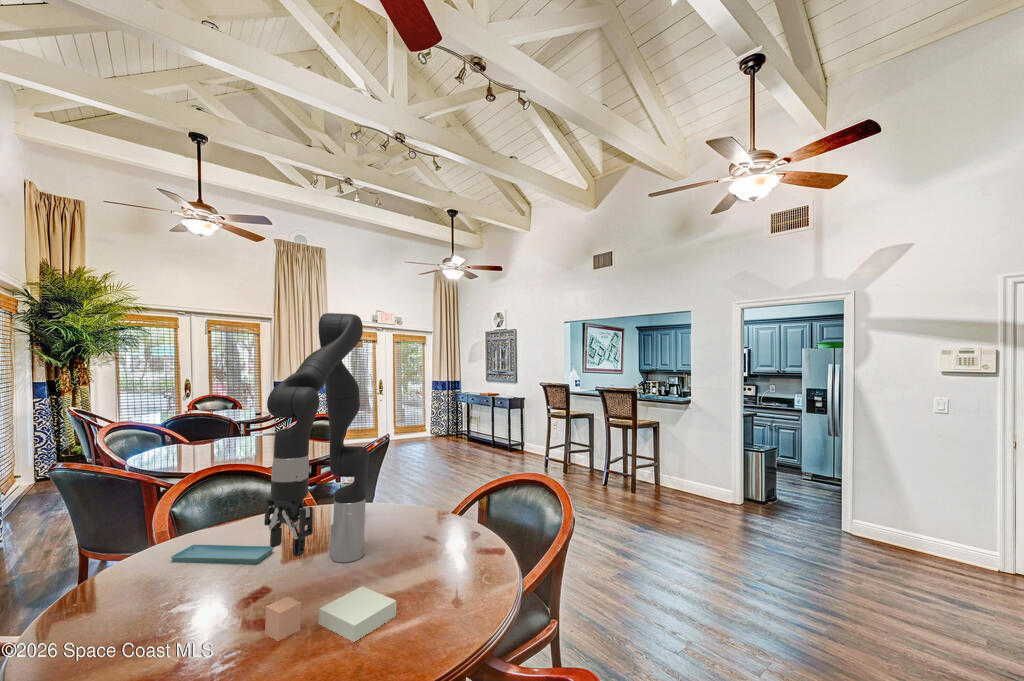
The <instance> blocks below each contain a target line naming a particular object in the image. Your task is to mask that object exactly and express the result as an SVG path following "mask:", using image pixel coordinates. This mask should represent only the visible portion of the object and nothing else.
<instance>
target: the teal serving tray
mask: <svg viewBox="0 0 1024 681" xmlns="http://www.w3.org/2000/svg"><path fill="white" fill-rule="evenodd" d="M274 548H275V547H270V545H268V546H267V545H231V544H230V545H228V544H225V545H224V544H192V545H189V546H187V547H186V548H184V549H182V550H180V551H179V552H177V553H175V554H173V555H171V556H170V558H171V561H173V562H174V563H192V564H193V563H194V564H195V563H198V564H230V565H231V564H232V565H257V564H258V563H260V562H261V561H263V560H265V558H267V557H268V556H270V555H271V553H272V552H273V550H274Z"/></svg>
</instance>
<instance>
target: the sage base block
mask: <svg viewBox="0 0 1024 681" xmlns="http://www.w3.org/2000/svg"><path fill="white" fill-rule="evenodd" d="M395 616H396V617H397V600H396V599H394V598H391V597H390V596H387V595H385V594H382V593H379V592H376V591H374V590H372V589H369V588H367V587H365V586H360V587H358V588H356V589H354V590H352V591H350V592H348V593H347V594H344V595H343V596H341V597H339V598H337V599H335V600H333V601H331V602H329V603H327V604H326V605H323V606H321V607H320V608H319V609H318V625H319V624H320V625H322V626H324V627H326V628H327V629H329V630H332V631H333V632H335V633H338V634H339V635H341V636H343V637H344V638H343V637H342V638H343V639H345V638H347V639H349V640H351V641H353V642H355V641H357V640H358V641H360V640H361V639H362V637H363V636H364V637H366V636H367V635H366V634H368V633H369V634H370V632H371V633H372V632H373V630H374V631H375V630H377V629H378V628H380V627H382V626H384V623H385V624H386V623H388V622H389V621H391V620H393V619H394V618H396V617H395ZM392 618H393V619H392ZM390 619H391V620H390ZM320 625H319V626H320ZM381 625H382V626H381ZM322 626H321V627H322ZM376 628H377V629H376ZM327 629H326V630H327ZM329 630H328V631H329ZM333 632H332V633H333ZM335 633H334V634H335ZM369 634H368V635H369ZM339 635H338V636H339ZM365 635H366V636H365ZM341 636H340V637H341ZM364 637H363V638H364ZM360 638H361V639H360ZM347 639H346V640H347ZM359 639H360V640H359ZM349 640H348V641H349ZM351 641H350V642H351ZM358 641H357V642H358ZM353 642H352V643H353ZM355 643H356V642H355Z"/></svg>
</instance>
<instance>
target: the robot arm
mask: <svg viewBox="0 0 1024 681" xmlns="http://www.w3.org/2000/svg"><path fill="white" fill-rule="evenodd" d="M317 328H318V338H319V345H320V348H318V349H317V350H315V351H313V352H312V353H311V354H309V355H308V356H307V357H306V358H305V359H304V360H303V362H302V363H301V364H300V365H299V367H298V368H297V369H296V371H295V372H293V373H292V374H291V375H289V376H288V377H286V378H285V379H284V380H282V381H280V383H278V384H277V385H276V386H275V387H274V388H273V389H272V390H271V392H270V393H269V395H268V397H267V401H266V407H267V411H268V413H269V414H270V415H271V416H272V417H274V418H281V419H296V421H295V424H294V425H293V427H288V428H282V429H280V430H277V432H275V435H274V442H273V443H274V446H273V460H272V465H271V476H270V477H271V479H270V494H269V495H270V496H269V497H270V498H267V499H266V500H265V509H264V510H265V511H264V522H263V523H264V526H268V530H269V531H270V535H269V536H270V538H269V546H270V547H274V548H276V547H279V546H280V545H282V532H283V528H282V527H283V525H284V524H285V525H286V526H287V528H288V530H289V531H291V533H292V536H293V541H292V543H293V544H292V556H293V557H298V556H302V555H303V554H304V553H305V546H306V544H305V542H306V538H307V537H308V536H312V535H313V532H314V531H313V530H314V529H313V528H314V508H313V506H306V507H305V506H304V499H306V497H308V495H309V480H310V478H309V477H310V460H309V459H310V458H309V457H310V456H309V454H310V453H309V451H310V436H311V432H312V428H313V425H314V422H315V420H316V416H317V413H318V410H319V408H320V402H321V401H320V396H319V393H318V392H319V391H320V390H322V388H323V387H324V385H325V399H326V407H327V408H326V409H327V418H328V426H329V427H328V429H329V469H330V473H331V475H332V476H334V477H337V478H347V477H354V482H353V483H352V484H350V485H347V486H344V487H341V488H340V487H339V488H338V489H336V490H335V491H334V495H333V518H332V520H333V521H332V522H333V523H331V525H330V542H329V544H330V545H329V556H330V557H331V560H332V561H334V562H336V563H350V562H354V561H358V560H359V559H361V558H362V557H363V556H364V552H365V532H366V531H365V527H366V526H365V525H366V498H367V485H368V474H369V473H368V471H369V462H370V461H369V460H370V459H369V458H370V456H369V455H370V454H369V450H368V448H367V447H366V446H361V445H360V446H359V445H358V446H355V445H354V446H350V445H348V446H347V445H345V444H344V443H345V442H344V440H345V439H344V438H345V435H346V432H347V431H348V429H349V428H350V426H351V424H352V423H353V421H354V419H356V417H357V415H358V414H359V411H360V408H361V402H360V401H361V400H360V386H359V384H358V382H357V380H356V379H355V377H354V376H353V375H352V373H351V372H350V370H348V368H347V366H346V365H345V364H344V362H343V361H342V360H343V359H345V358H346V357H347V356H348V354H350V352H351V351H353V350H354V348H356V346H357V345H358V344H359V343H360V341H361V339H362V337H363V332H364V327H363V322H362V319H361V317H360V316H358V315H357V314H354V313H353V314H352V313H340V312H339V313H334V312H331V313H329V312H327V313H323V314H322V315H321V317H320V318H319V320H318V327H317ZM271 515H272V516H271ZM306 526H307V527H306Z"/></svg>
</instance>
